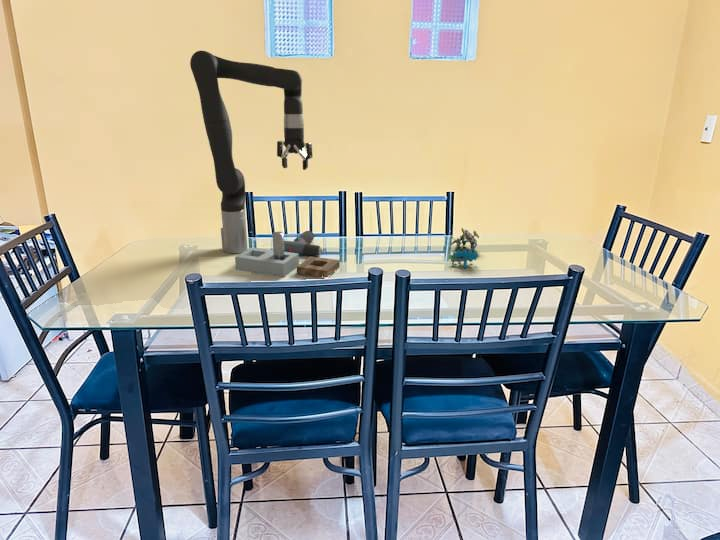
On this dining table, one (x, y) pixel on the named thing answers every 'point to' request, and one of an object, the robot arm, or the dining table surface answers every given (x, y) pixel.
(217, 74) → the robot arm
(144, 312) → the dining table surface
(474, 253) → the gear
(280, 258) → the steel bit
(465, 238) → the passion flower
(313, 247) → the power drill
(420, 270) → the dining table surface
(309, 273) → the socket block
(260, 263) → the block
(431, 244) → the dining table surface
